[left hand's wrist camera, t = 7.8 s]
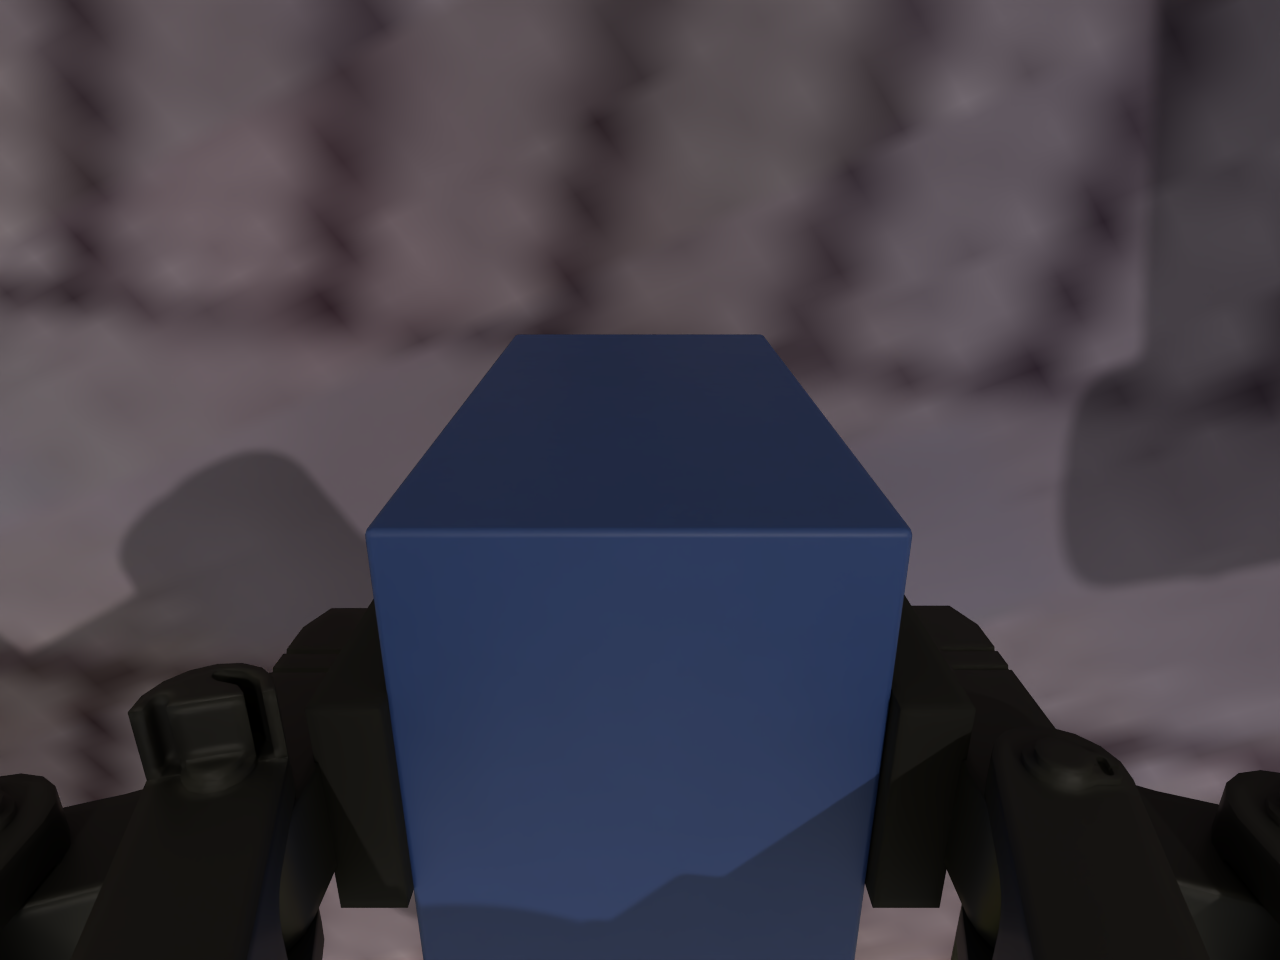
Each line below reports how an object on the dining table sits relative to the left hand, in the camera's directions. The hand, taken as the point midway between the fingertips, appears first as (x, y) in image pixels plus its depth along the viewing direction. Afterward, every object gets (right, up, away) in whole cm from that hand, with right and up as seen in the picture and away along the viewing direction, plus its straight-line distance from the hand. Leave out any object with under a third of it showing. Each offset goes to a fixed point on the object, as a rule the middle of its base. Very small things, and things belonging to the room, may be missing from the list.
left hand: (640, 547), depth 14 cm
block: (0, +1, +3) cm, 4 cm away
